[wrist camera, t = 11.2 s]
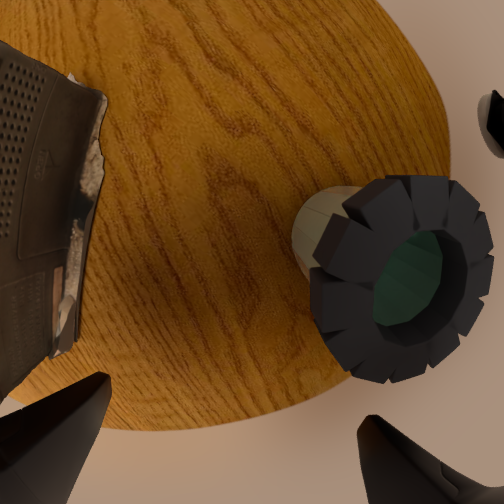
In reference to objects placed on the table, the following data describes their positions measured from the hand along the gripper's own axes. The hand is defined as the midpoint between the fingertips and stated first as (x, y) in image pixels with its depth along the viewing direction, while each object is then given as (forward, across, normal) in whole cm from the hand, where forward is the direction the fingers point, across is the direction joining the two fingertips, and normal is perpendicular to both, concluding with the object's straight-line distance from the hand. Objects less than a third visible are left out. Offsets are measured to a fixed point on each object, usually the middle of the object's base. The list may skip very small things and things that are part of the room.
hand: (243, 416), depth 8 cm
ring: (+4, -6, -5) cm, 9 cm away
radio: (+13, +17, -2) cm, 22 cm away
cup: (+13, -6, -5) cm, 15 cm away
